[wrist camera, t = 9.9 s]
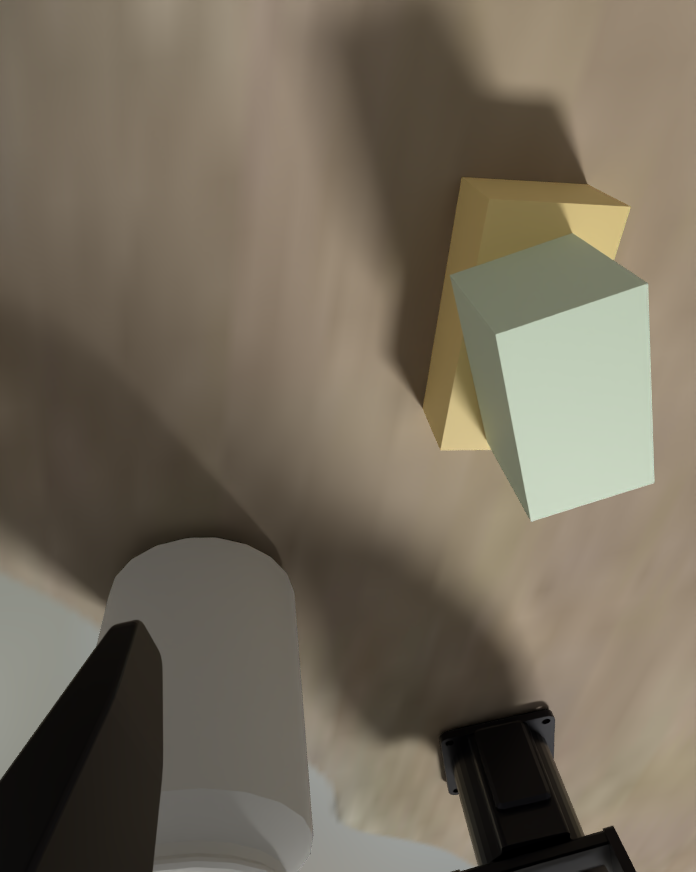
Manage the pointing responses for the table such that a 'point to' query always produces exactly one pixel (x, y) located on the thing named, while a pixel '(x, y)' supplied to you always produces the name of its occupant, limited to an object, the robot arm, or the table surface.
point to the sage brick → (561, 372)
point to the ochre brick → (491, 239)
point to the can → (223, 705)
